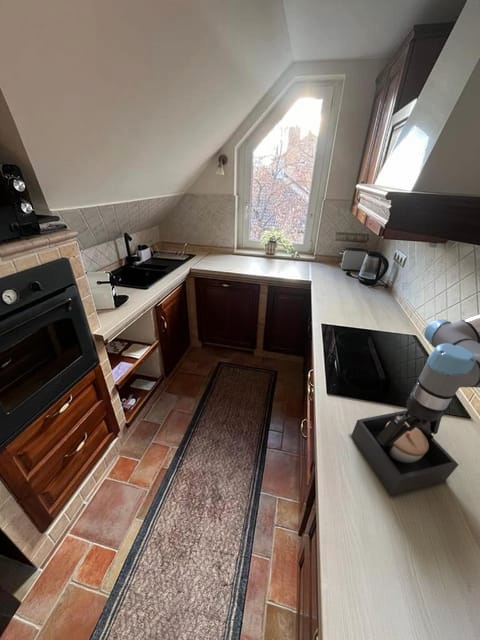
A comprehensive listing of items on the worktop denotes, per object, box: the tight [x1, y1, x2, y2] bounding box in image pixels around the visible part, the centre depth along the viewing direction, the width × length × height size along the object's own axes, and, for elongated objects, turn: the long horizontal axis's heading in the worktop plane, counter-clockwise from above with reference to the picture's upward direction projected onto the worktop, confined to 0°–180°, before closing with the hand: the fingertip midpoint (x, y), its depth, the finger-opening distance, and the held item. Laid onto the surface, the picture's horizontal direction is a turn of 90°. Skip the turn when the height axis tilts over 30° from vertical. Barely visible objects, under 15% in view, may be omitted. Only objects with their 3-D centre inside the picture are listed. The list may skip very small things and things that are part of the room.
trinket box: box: [386, 422, 429, 463], centre depth 73 cm, size 11×11×9 cm
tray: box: [350, 409, 459, 496], centre depth 75 cm, size 18×18×8 cm
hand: (397, 451), depth 75 cm, fingers closed on trinket box, 11 cm apart
